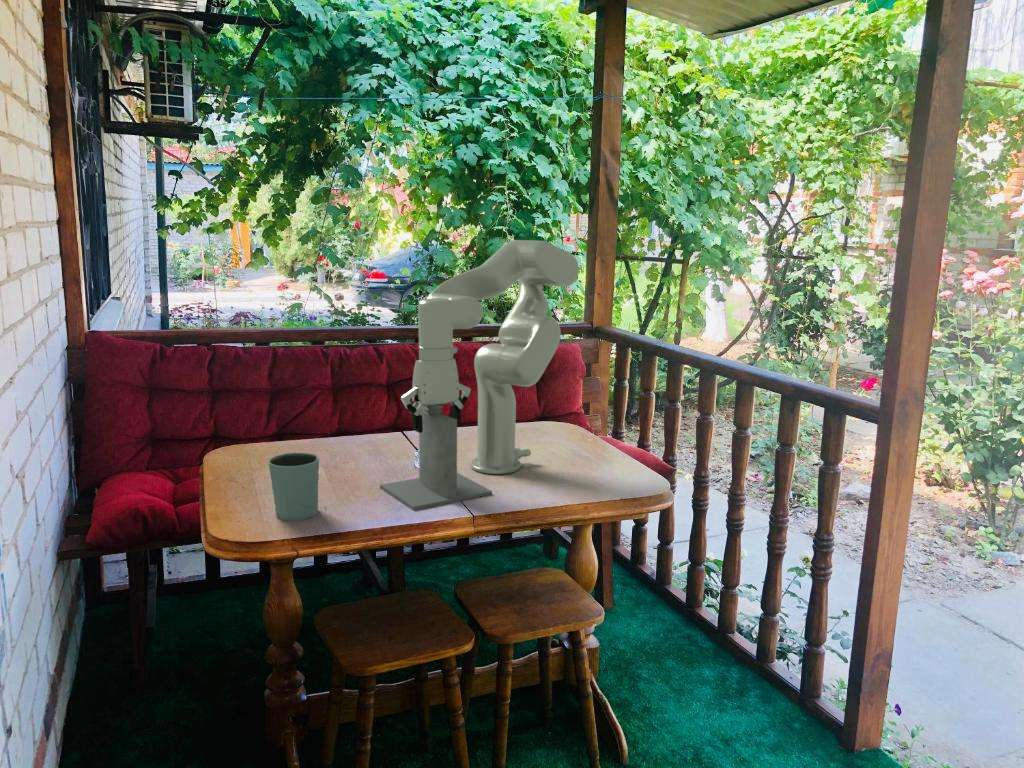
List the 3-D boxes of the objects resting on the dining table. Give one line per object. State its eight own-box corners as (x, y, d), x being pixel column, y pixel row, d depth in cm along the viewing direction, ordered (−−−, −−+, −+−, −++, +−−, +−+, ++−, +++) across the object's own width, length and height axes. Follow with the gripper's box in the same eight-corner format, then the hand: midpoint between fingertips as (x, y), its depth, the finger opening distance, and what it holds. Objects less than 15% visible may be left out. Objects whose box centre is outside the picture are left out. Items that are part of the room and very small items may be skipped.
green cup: (328, 516, 165) (326, 461, 163) (280, 526, 159) (278, 469, 157) (309, 502, 173) (308, 449, 171) (264, 511, 167) (261, 456, 165)
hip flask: (459, 496, 176) (459, 409, 172) (442, 499, 174) (442, 411, 170) (429, 477, 189) (429, 395, 185) (413, 479, 187) (413, 397, 183)
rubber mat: (455, 474, 194) (455, 471, 194) (491, 494, 180) (491, 491, 180) (380, 488, 183) (380, 484, 183) (413, 510, 169) (413, 506, 169)
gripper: (461, 348, 183) (461, 419, 187) (393, 355, 174) (395, 430, 177) (477, 353, 177) (478, 426, 181) (408, 360, 168) (410, 437, 171)
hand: (437, 428), depth 179 cm, fingers open, 9 cm apart
